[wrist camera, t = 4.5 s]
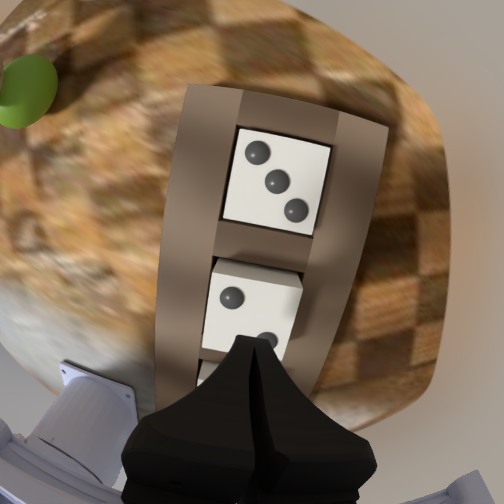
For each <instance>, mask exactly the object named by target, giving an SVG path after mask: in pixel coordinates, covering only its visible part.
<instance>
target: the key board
mask: <svg viewBox="0 0 504 504" xmlns="http://www.w3.org/2000/svg"><path fill="white" fill-rule="evenodd" d="M240 129H245V130H251V131H257V132H262V133H267V134H272V135H277V136H282V137H287V138H291V139H296V140H300V141H304V142H308V143H313V144H317V145H320V146H324V147H328V148H330V152H329V158H328V163H327V168H326V173H325V178H324V182H323V187H322V192H321V196H320V201H319V206H318V210H317V214H316V219H315V223H314V227H313V232H312V235H308V234H303V233H298V232H293V231H289V230H284V229H278V228H273V227H268V226H263V225H258V224H253V223H247V222H242V221H237V220H231V219H226V218H223V216H224V215H223V210H224V204H225V198H226V193H227V187H228V182H229V176H230V171H231V166H232V161H233V155H234V150H235V145H236V140H237V135H238V130H240ZM388 129H389V127H386V126H383V125H380V124H378V123H375V122H372V121H369V120H366V119H363V118H360V117H357V116H354V115H351V114H348V113H344V112H341V111H338V110H334V109H331V108H327V107H324V106H320V105H316V104H312V103H308V102H304V101H300V100H295V99H291V98H286V97H281V96H277V95H271V94H266V93H260V92H255V91H248V90H242V89H235V88H227V87H219V86H210V85H199V84H188V87H187V91H186V95H185V100H184V104H183V108H182V113H181V117H180V122H179V127H178V132H177V137H176V142H175V147H174V153H173V158H172V164H171V170H170V176H169V182H168V189H167V196H166V203H165V211H164V219H163V227H162V236H161V246H160V256H159V268H158V281H157V297H156V319H155V400H156V412H157V411H159V410H162V409H164V408H166V407H168V406H169V405H171V404H173V403H174V402H176V401H178V400H179V399H181V398H183V397H184V396H186V395H187V394H188V393H190V392H191V391H192V390H194V389H195V388H196V387H197V384H198V377H199V373H200V365H201V359H205V360H210V361H215V362H220V363H221V362H222V360H223V359H224V358H225V356H226V355H227V353H228V352H223V351H218V350H213V349H208V348H203V347H202V342H203V334H204V326H205V319H206V312H207V304H208V297H209V291H210V284H211V277H212V272H213V269H214V264H215V258H216V256H219V257H224V258H229V259H235V260H240V261H245V262H250V263H256V264H261V265H267V266H272V267H277V268H283V269H288V270H294V271H297V274H298V277H299V279H300V282H301V284H302V287H303V292H302V295H301V299H300V302H299V306H298V309H297V313H296V316H295V320H294V323H293V326H292V330H291V333H290V336H289V340H288V343H287V346H286V349H285V353H284V356H283V359H282V361H280V362H281V364H282V365H283V367H284V369H285V370H286V372H287V373H288V375H289V376H290V378H291V379H292V380H293V382H294V383H295V384H296V386H297V387H298V388H299V389H300V391H301V392H302V393H303V394H304V395H305V396H306V397H307V398H308V399H309V397H310V395H311V393H312V390H313V388H314V386H315V384H316V381H317V379H318V377H319V374H320V372H321V370H322V367H323V365H324V362H325V360H326V357H327V355H328V352H329V350H330V347H331V345H332V342H333V339H334V337H335V334H336V331H337V329H338V326H339V323H340V320H341V318H342V315H343V312H344V309H345V306H346V303H347V300H348V297H349V294H350V291H351V288H352V285H353V282H354V278H355V275H356V272H357V269H358V265H359V262H360V258H361V255H362V251H363V248H364V244H365V240H366V237H367V233H368V229H369V225H370V221H371V217H372V213H373V208H374V204H375V200H376V195H377V191H378V186H379V181H380V176H381V171H382V166H383V160H384V155H385V149H386V143H387V136H388Z"/></svg>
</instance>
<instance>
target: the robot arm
mask: <svg viewBox="0 0 504 504" xmlns="http://www.w3.org/2000/svg"><path fill="white" fill-rule="evenodd" d="M59 367H60V371H61V375H62V379H63V382H64V385H65V388H64V389H63V390H62V392H61V393H60V394H59V396H58V397H57V398H56V400H55V401H54V402H53V404H52V405H51V406H50V408H49V409H48V411H47V412H46V413H45V415H44V416H43V418H42V419H41V420H40V422H39V423H38V425H37V426H36V427H35V429H34V430H33V432H32V433H31V434H30V436H29V437H27V438H26V439H25V438H24V437H23V436H22V435H21V434H12V432H11V430H10V429H9V427H8V425H7V424H6V423H5V422H4V421H3V420H2V419H1V418H0V504H236V503H237V504H356V501H357V500H358V499H359V497H360V496H359V492H358V489H359V488H360V487H361V486H362V485H363V484H364V483H365V482H366V481H367V480H368V479H369V478H370V477H371V476H372V475H373V474H374V472H375V471H376V468H377V463H376V460H375V457H374V453H373V450H372V449H371V446H370V444H369V442H368V441H367V440H366V439H364V438H361V437H360V436H358V435H356V434H354V433H352V432H351V431H349V430H347V429H345V428H344V427H342V426H341V425H339V424H338V423H336V422H335V421H333V420H332V419H331V418H329V417H328V416H327V415H326V414H324V413H323V412H322V411H321V410H320V409H319V408H317V407H316V406H315V405H314V404H313V403H312V402H311V401H310V400H309V399H308V398H307V397H306V396H305V395H304V394H303V393H302V392H301V391H300V389H299V388H298V387H297V386H296V384H295V383H294V382H293V380H292V379H291V378H290V376H289V375H288V373H287V372H286V370H285V369H284V367H283V365H282V364H281V362H280V360H279V359H278V357H277V355H276V353H275V351H274V349H273V347H272V345H271V343H270V341H269V340H268V339H263V338H257V337H251V336H245V335H240V334H238V335H237V336H235V340H234V343H233V345H232V347H231V348H230V350H229V352H228V353H227V355H226V356H225V358H224V359H223V360H222V362H221V363H220V364H219V365H218V366H217V368H216V369H215V370H214V371H213V372H212V373H211V374H210V375H209V376H208V377H207V378H206V379H205V380H204V381H203V382H202V383H201V384H200V385H199V386H197V387H196V388H195V389H194V390H192V391H191V392H190V393H188V394H187V395H186V396H184V397H183V398H181V399H179V400H178V401H176V402H174V403H173V404H171V405H169V406H168V407H166V408H164V409H162V410H159V411H157V412H155V413H152V414H150V415H148V416H145V417H143V418H142V420H141V421H140V422H139V423H138V419H137V412H136V403H135V394H134V390H133V389H132V388H131V387H129V386H126V385H123V384H120V383H117V382H114V381H111V380H108V379H105V378H103V377H100V376H97V375H95V374H92V373H89V372H87V371H84V370H82V369H79V368H77V367H75V366H72V365H70V364H68V363H65V362H60V363H59ZM122 465H123V467H124V470H125V473H126V476H127V481H126V483H125V486H124V489H123V492H121V491H119V490H116V489H113V488H111V487H112V486H113V485H114V484H115V482H116V480H117V478H118V475H119V473H120V470H121V468H122ZM401 504H495V503H494V501H493V499H492V497H491V495H490V493H489V491H488V489H487V487H486V485H485V483H484V481H483V479H482V477H481V475H480V473H479V471H478V470H475V471H472V472H470V473H468V474H466V475H463V476H461V477H460V478H458V479H457V480H455V481H454V482H453V483H451V484H450V485H449V486H448V487H447V488H446V489H444V490H441V491H439V492H436V493H433V494H430V495H427V496H424V497H421V498H418V499H415V500H412V501H408V502H405V503H401Z"/></svg>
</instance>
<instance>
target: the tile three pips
mask: <svg viewBox="0 0 504 504" xmlns="http://www.w3.org/2000/svg"><path fill="white" fill-rule="evenodd" d="M329 152H330V148H328V147H324V146H320V145H317V144H313V143H308V142H304V141H300V140H296V139H291V138H287V137H282V136H277V135H272V134H267V133H262V132H257V131H251V130H245V129H240V131H239V136H238V141H237V146H236V151H235V156H234V161H233V166H232V172H231V177H230V182H229V188H228V193H227V199H226V204H225V210H224V216H223V218H226V219H231V220H237V221H242V222H247V223H253V224H258V225H263V226H268V227H273V228H278V229H284V230H289V231H293V232H298V233H303V234H308V235H312V232H313V227H314V223H315V219H316V214H317V210H318V206H319V201H320V196H321V192H322V187H323V182H324V178H325V173H326V168H327V163H328V158H329Z"/></svg>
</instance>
